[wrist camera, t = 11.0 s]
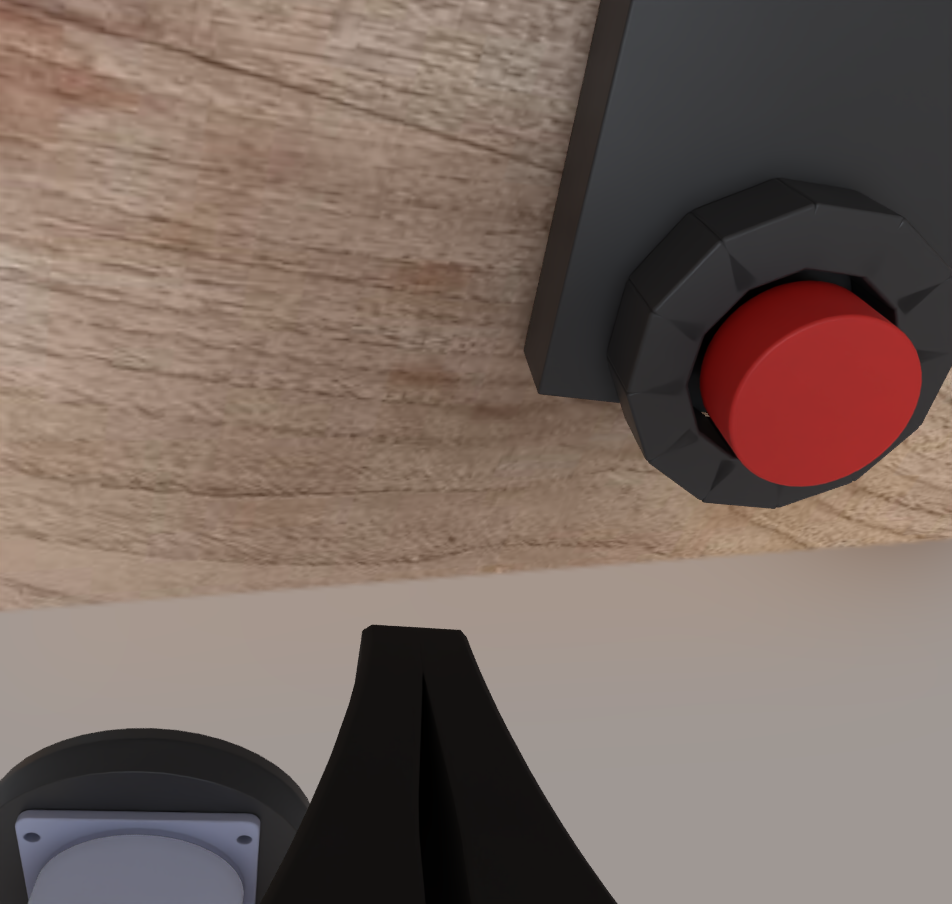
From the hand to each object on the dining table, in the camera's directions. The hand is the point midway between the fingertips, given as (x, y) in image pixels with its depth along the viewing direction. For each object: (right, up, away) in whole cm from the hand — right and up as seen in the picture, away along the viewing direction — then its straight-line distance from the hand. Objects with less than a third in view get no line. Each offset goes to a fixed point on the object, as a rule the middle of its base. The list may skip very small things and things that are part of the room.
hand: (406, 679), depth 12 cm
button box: (+7, +9, +7) cm, 14 cm away
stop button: (+7, +5, +5) cm, 10 cm away
